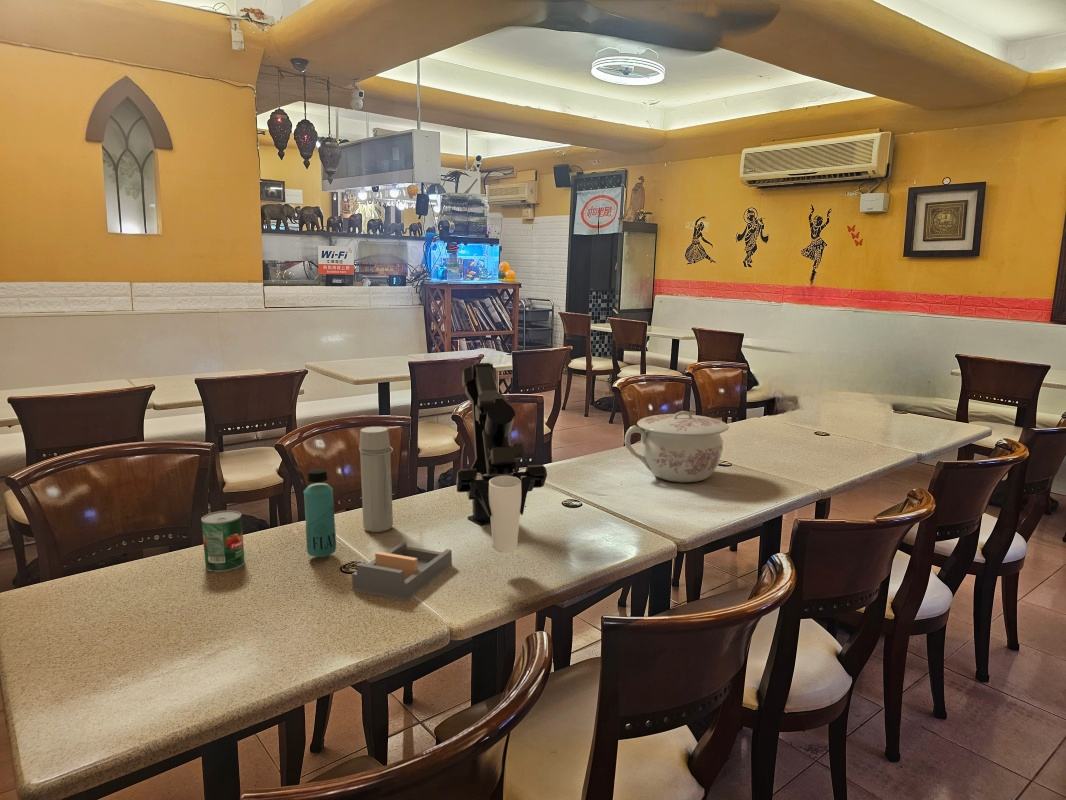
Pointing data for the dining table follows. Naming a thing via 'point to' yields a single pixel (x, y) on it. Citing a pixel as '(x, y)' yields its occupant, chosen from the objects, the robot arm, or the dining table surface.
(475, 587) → the dining table surface
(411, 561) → the block
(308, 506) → the beverage bottle
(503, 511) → the drinking glass
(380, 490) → the water bottle
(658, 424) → the chamber pot
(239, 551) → the canned tomato
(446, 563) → the gray tray
